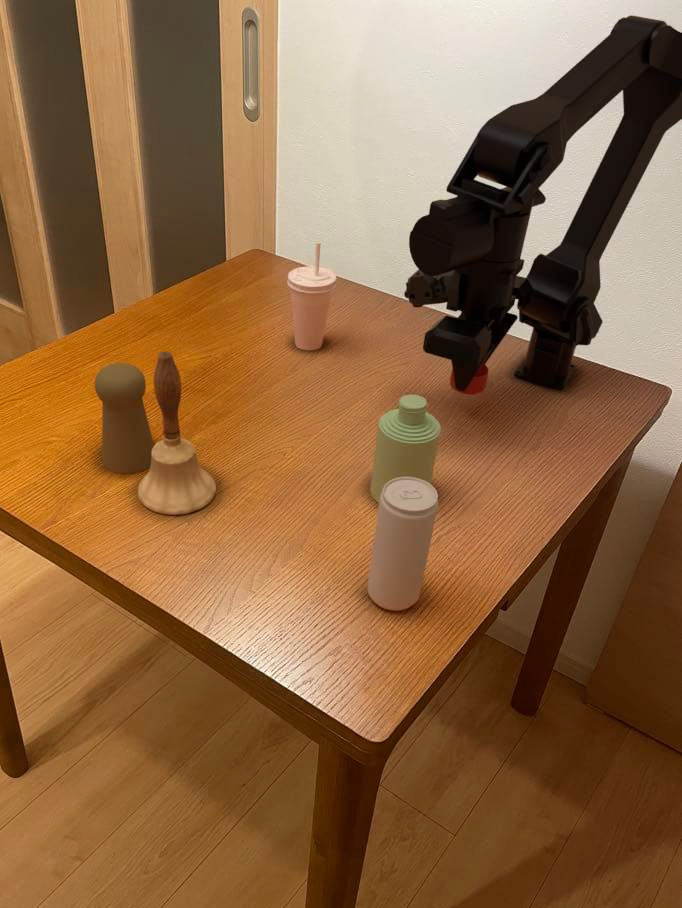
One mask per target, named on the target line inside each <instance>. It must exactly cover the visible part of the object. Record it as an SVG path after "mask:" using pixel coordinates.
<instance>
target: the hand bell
mask: <svg viewBox="0 0 682 908" xmlns="http://www.w3.org/2000/svg"><path fill="white" fill-rule="evenodd" d="M153 389H154V394H155V399H156V401H157V403H158V407H159V408H160V411H161V415H162V416H161V417H162V429H163V430H162V435H163V439H161V440H159V441H157V443H154V447H153V449H152V453H151V455H152V457H151V466H150V467H149V471H148V473H147V474H146V475H144V476H143V478H142V479H141V480H140V482H139V485H138V487H137V497H138V499H139V501H140V503H141V505H143V506H144V507H145V508H147V509H148V510H150V511H152V512H155V513H157V514H161V515H162V514H163V515H167V516H180V515H181V516H182V515H186V514H190V513H193V512H196V511H199V510H201V509H203V508H205V507H206V506H207V505H208V504H209V503H211V502H212V500H213V499H214V497H215V495H216V493H217V484H216V482H215V479H214V478H213V476H212V474H210V473H209V472H208V471H206V470H205V469H204V468H202V467H201V465H200V463H199V460H198V457H197V453H196V448H195V446H194V444H193V443H192V442H191V441H189V440H188V439H185V438H181V429H180V422H179V408H180V404H181V400H182V399H181V398H182V380H181V374H180V372H179V369H178V367H177V364H176V362H175V360H174V357H173V354H172V352H171V351H168V350H167V351H165V350H164V351H160V352H159V353H158V354H157V361H156V365H155V369H154V373H153Z"/></svg>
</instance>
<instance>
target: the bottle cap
mask: <svg viewBox="0 0 682 908" xmlns="http://www.w3.org/2000/svg"><path fill="white" fill-rule="evenodd" d="M488 378H489V367H488V366H487V365H486V364H482V366H481V367H480V369H479V370H478V372H477V373H476V375H475V376H474V378H473V379H472V381H471V382H470V384H469V385H468V387H467V388H466V390H465V391H460V390H457V389H456V388H455V381H454V374H453V368H452V369H451V372H450V379H449V382H450V383H449V385H450V387H451V388H452V389H453V390H454V391H455V392H457V393H460V394H463V395H478V394H481V393H482V392H484V391H485V389H486V388H487V387H486V386H487V382H488Z"/></svg>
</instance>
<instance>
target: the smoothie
mask: <svg viewBox="0 0 682 908" xmlns="http://www.w3.org/2000/svg"><path fill="white" fill-rule="evenodd" d="M314 256H315V257H314V266H313V265H311V266H310V265H309V266H300V267H296V268H294V269H292V270H290V271H289V272H288V274H287V281H286V283H287V286H288V287H289V291H290V301H291V303H290V304H291V313H292V324H293V334H294V346H296V348H298V349H300V350H303V351H316V350H319V349H321V348H322V347H323V341H324V336H325V332H326V327H327V321H328V317H329V312H330V306H331V302H332V297H333V291H334V289H335V288H336V286H337V275H336V273H335V272H333V271H332V270H330V269H328V268H326V267H321V266H320V259H321V258H320V257H321V242H320V241H317V242H315V254H314Z"/></svg>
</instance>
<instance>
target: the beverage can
mask: <svg viewBox="0 0 682 908" xmlns="http://www.w3.org/2000/svg"><path fill="white" fill-rule="evenodd" d="M438 495H439V494H438V491H437V490H436V488H435V487H434V486H433V485H432V483H431V484H429V483H428V482H426V481H424V480H421V479H419V478H414V477H398V478H395V479H392V480H390V481H389V482H387V483H386V484H385V486H384V488H383V491H382V493H381V496H380V501H379V503H378V508H377V509H378V510H377V516H376V523H375V529H374V537H373V538H374V539H373V546H372V552H371V559H370V567H369V573H368V579H367V580H368V581H367V593H368V596H369V598H370V599H371V600H372V601H373V603H375V604H376V605H378V607H380V608H382V609H384V610H388V611H391V612H392V611H393V612H399V611H405V610H407V609H409V608H410V607H411V606H413V605H415V604H416V603H417V602H418V601H419V600H420V595H421V591H422V586H423V581H424V576H425V572H426V567H427V561H428V558H429V557H428V556H429V552H430V547H431V541H432V537H433V532H434V528H435V523H436V519H437V518H436V517H437V513H438V507H439V499H438V498H439V496H438Z"/></svg>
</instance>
